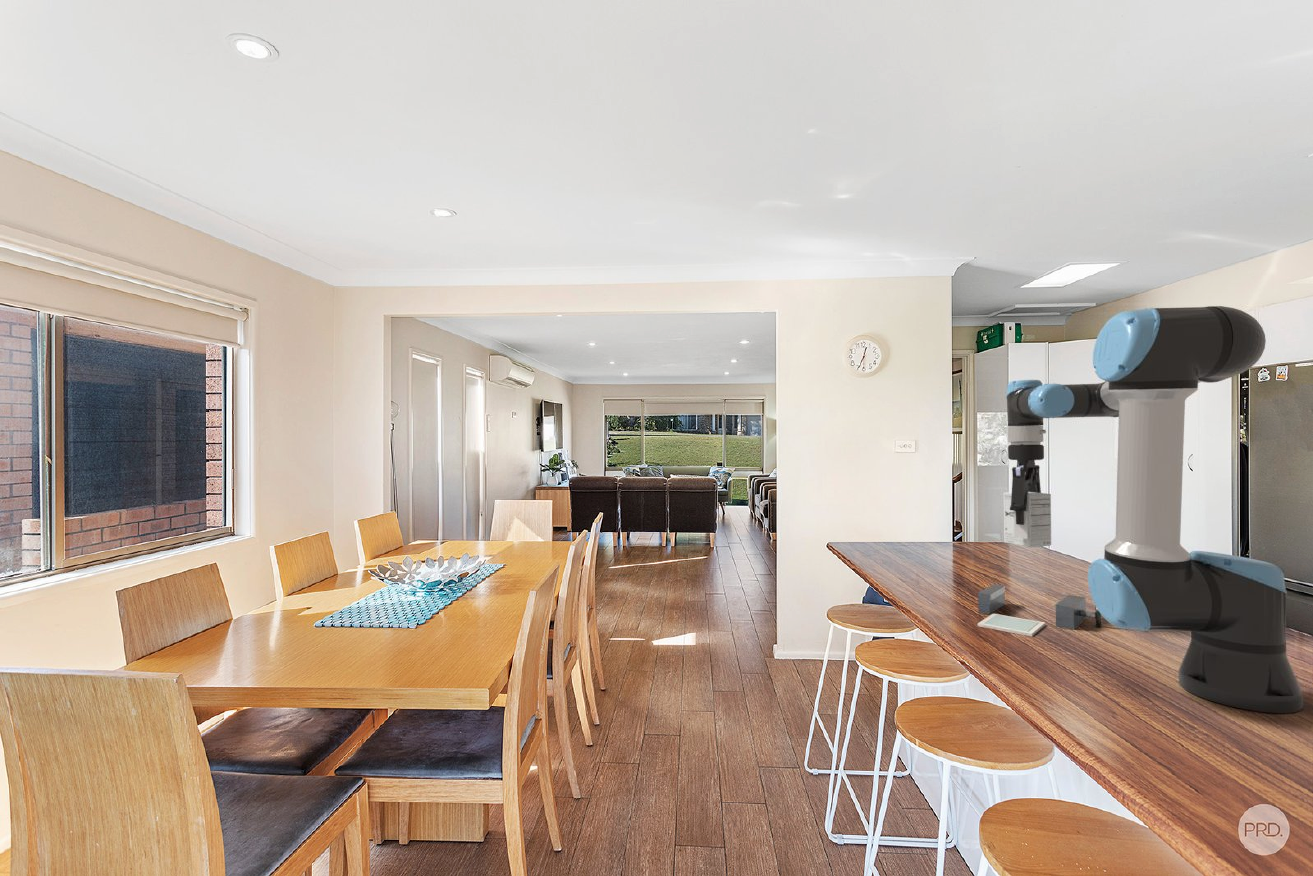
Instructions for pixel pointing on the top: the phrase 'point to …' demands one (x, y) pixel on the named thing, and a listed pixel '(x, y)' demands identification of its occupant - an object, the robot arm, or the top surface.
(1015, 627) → the plate
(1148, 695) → the top surface
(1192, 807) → the top surface
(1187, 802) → the top surface
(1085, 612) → the vise
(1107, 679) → the top surface
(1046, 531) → the supplement box
